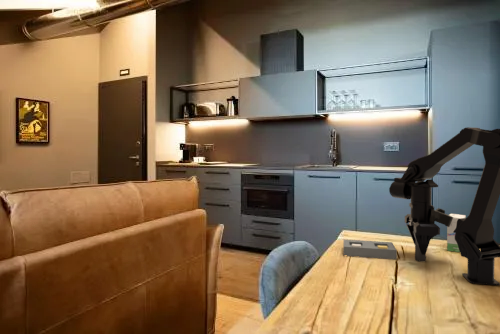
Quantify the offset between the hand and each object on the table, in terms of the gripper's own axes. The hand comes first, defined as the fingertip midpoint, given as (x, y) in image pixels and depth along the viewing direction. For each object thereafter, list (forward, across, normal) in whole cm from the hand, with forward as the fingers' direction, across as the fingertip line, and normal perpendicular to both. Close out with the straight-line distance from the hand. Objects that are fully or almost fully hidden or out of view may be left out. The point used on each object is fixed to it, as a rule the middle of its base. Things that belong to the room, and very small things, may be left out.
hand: (420, 251), depth 103 cm
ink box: (+3, +17, -15) cm, 23 cm away
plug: (+3, 0, 0) cm, 3 cm away
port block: (+3, +4, +15) cm, 16 cm away
